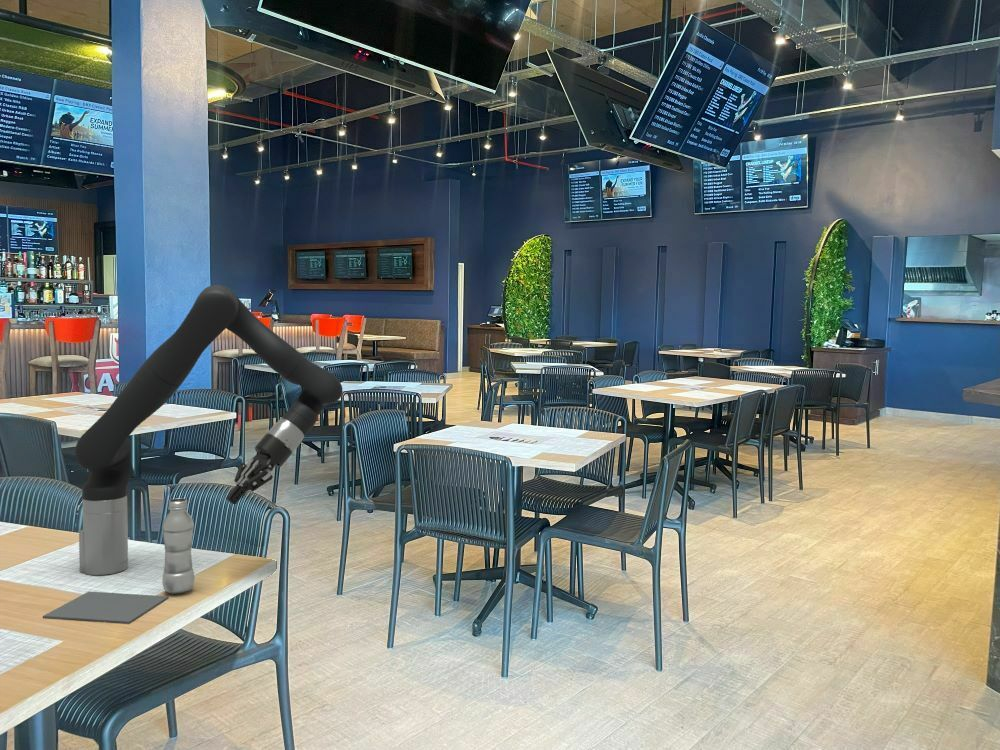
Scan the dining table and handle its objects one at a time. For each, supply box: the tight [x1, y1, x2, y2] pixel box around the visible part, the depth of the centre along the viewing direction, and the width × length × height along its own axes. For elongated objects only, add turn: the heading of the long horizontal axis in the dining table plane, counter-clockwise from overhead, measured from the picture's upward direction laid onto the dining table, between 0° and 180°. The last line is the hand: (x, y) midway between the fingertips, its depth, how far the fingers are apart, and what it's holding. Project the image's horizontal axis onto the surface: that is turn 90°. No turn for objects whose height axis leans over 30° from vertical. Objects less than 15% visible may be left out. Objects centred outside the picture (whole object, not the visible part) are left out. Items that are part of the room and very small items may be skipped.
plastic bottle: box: [161, 497, 195, 595], centre depth 166 cm, size 6×7×20 cm
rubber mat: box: [42, 591, 169, 625], centre depth 156 cm, size 18×14×1 cm
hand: (230, 501), depth 173 cm, fingers closed
